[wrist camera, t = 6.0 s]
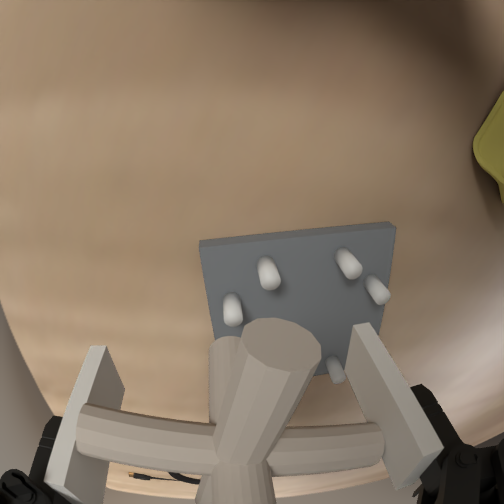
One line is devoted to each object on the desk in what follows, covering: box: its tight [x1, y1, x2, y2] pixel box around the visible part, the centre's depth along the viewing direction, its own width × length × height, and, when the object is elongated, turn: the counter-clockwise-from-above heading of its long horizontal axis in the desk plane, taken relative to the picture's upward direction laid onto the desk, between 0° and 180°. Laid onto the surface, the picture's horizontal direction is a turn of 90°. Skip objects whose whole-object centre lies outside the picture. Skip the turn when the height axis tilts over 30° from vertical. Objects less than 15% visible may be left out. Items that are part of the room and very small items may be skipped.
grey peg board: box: [199, 222, 396, 384], centre depth 30 cm, size 18×18×4 cm
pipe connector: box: [76, 318, 385, 504], centre depth 9 cm, size 10×10×10 cm
